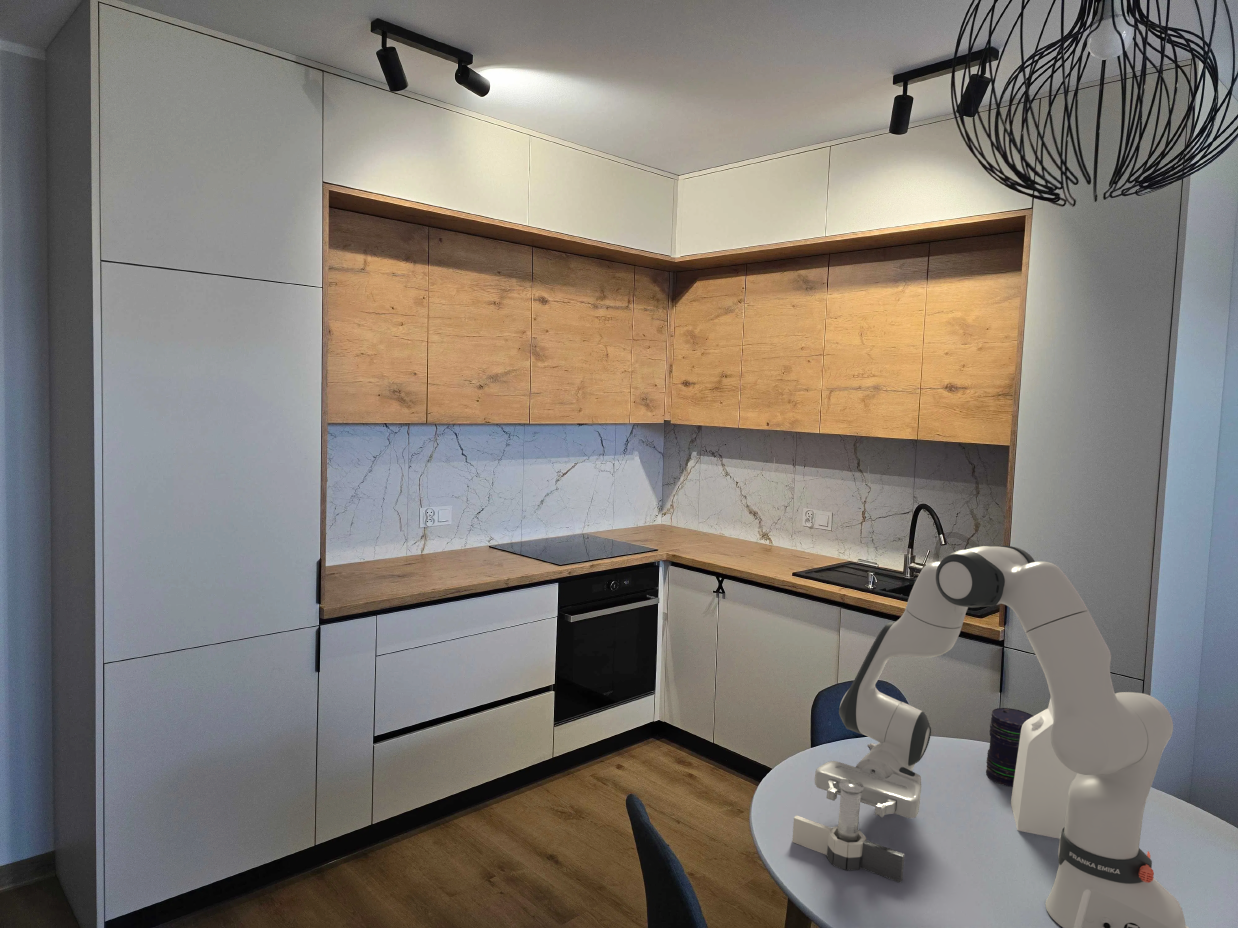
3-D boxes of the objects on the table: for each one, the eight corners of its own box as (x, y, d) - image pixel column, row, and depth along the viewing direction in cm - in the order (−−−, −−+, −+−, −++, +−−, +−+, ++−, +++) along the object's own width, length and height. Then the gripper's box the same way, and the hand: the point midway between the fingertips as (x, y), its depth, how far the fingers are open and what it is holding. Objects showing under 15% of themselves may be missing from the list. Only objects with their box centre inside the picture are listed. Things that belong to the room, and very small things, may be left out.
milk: (1079, 842, 169) (1093, 718, 167) (1017, 830, 173) (1029, 708, 170) (1069, 814, 181) (1081, 697, 178) (1010, 803, 184) (1022, 688, 182)
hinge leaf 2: (906, 872, 156) (908, 847, 155) (895, 889, 151) (898, 863, 150) (835, 846, 164) (837, 822, 163) (822, 861, 159) (824, 836, 158)
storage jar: (1041, 784, 194) (1048, 722, 192) (1009, 790, 190) (1015, 727, 188) (1007, 765, 203) (1013, 705, 201) (975, 770, 199) (981, 709, 198)
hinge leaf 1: (867, 858, 160) (869, 833, 160) (856, 874, 155) (858, 848, 154) (799, 833, 168) (801, 809, 167) (786, 847, 163) (788, 822, 162)
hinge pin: (860, 859, 160) (867, 783, 158) (852, 869, 156) (858, 792, 155) (838, 850, 162) (844, 776, 161) (830, 860, 159) (835, 785, 157)
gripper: (829, 747, 177) (803, 771, 166) (929, 777, 166) (909, 805, 154) (827, 776, 178) (801, 801, 167) (926, 808, 166) (906, 838, 155)
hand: (854, 803), depth 160 cm, fingers open, 8 cm apart
